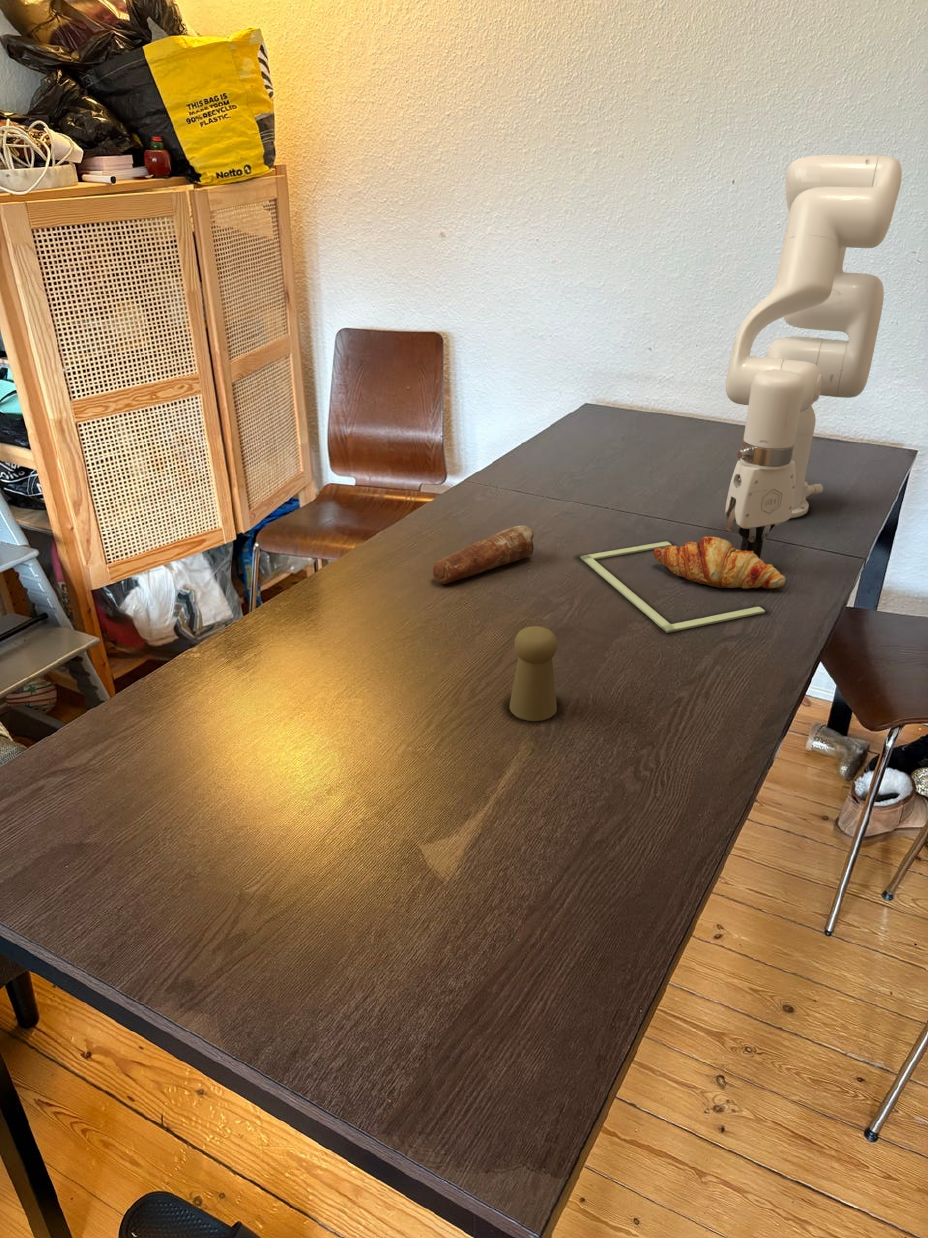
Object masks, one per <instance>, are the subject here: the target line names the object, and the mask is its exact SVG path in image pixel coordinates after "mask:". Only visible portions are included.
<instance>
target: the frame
mask: <svg viewBox="0 0 928 1238" xmlns="http://www.w3.org/2000/svg"><path fill="white" fill-rule="evenodd" d="M667 546H673V545H672V543H670V542H669V541H668V540H667V541H666V540H665V541H661V542H654V543H649V544H641V545H637V546H632V547H631V546H630V547H625V548H620V549H613V550H608V551H602V552H597V553H590V554H583V555H580V556H579V557H580V558H579V559H581V560H582V561H583V562H584V563H585V564H586V565H587V566H589V567H590V568H591V569H592V570H593V571H595V572H596V573H597V574H598V575H599V576H601V577H602V578H603V579H604V580H605V581H606V582H607V583H608V584H610V585H611V586H612V587H613V588H614V589H615V590H617V591H618V592H619V593H620V594H621V595H622V596H623V597H625V598H626V599H627V600H628V601H629V602H631V603H632V604H633V605H634V606H635V607H636V608H638V609H639V610H640V611H641V612H642V613H643V614H645V616H646V617H648V618H649V619H650V620H651V621H653V622H654V623H655V624H656V625H657V626H658V627H659V628H661V629H662V630H663V631H664V632H665V633H666V634H668V633H674V632H679V631H683V630H689V629H694V628H698V627H703V626H707V625H713V624H717V623H718V624H719V623H722V622H723V623H724V622H728V621H733V620H736V619H741V618H746V617H751V616H757V615H762V614H766V610H765V609H763V608H762V607H761V606H753V607H750V608H749V607H748V608H744V609H739V610H735V611H729V612H725V613H719V614H715V615H710V616H705V617H700V618H696V619H695V618H694V619H691V620H685V621H680V622H675V623H670V622H668V620H666V619H665V618H664V617H663V616H661V614H659V613H658V612H657V611H656V610H655V609H653V608H652V607H651V606H650V605H649V604H647V602H645V601H644V600H643V599H642V598H640V597H639V596H638V595H637V594H635V592H633V591H632V590H631V589H629V587H627V586H626V585H625V584H624V583H623V582H621V581H620V580H619V579H618V578H616V577H615V575H613V574H612V573H611V572H609V571H608V570H607V569H606V568H605V567H603V566H602V565H601V564H600V563H599V562H598V561H596V560H600V559H606V558H613V557H618V556H624V555H630V554H635V553H636V554H637V553H640V552H648V551H654V549H655V548H662V549H663V548H665V547H667Z"/></svg>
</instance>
